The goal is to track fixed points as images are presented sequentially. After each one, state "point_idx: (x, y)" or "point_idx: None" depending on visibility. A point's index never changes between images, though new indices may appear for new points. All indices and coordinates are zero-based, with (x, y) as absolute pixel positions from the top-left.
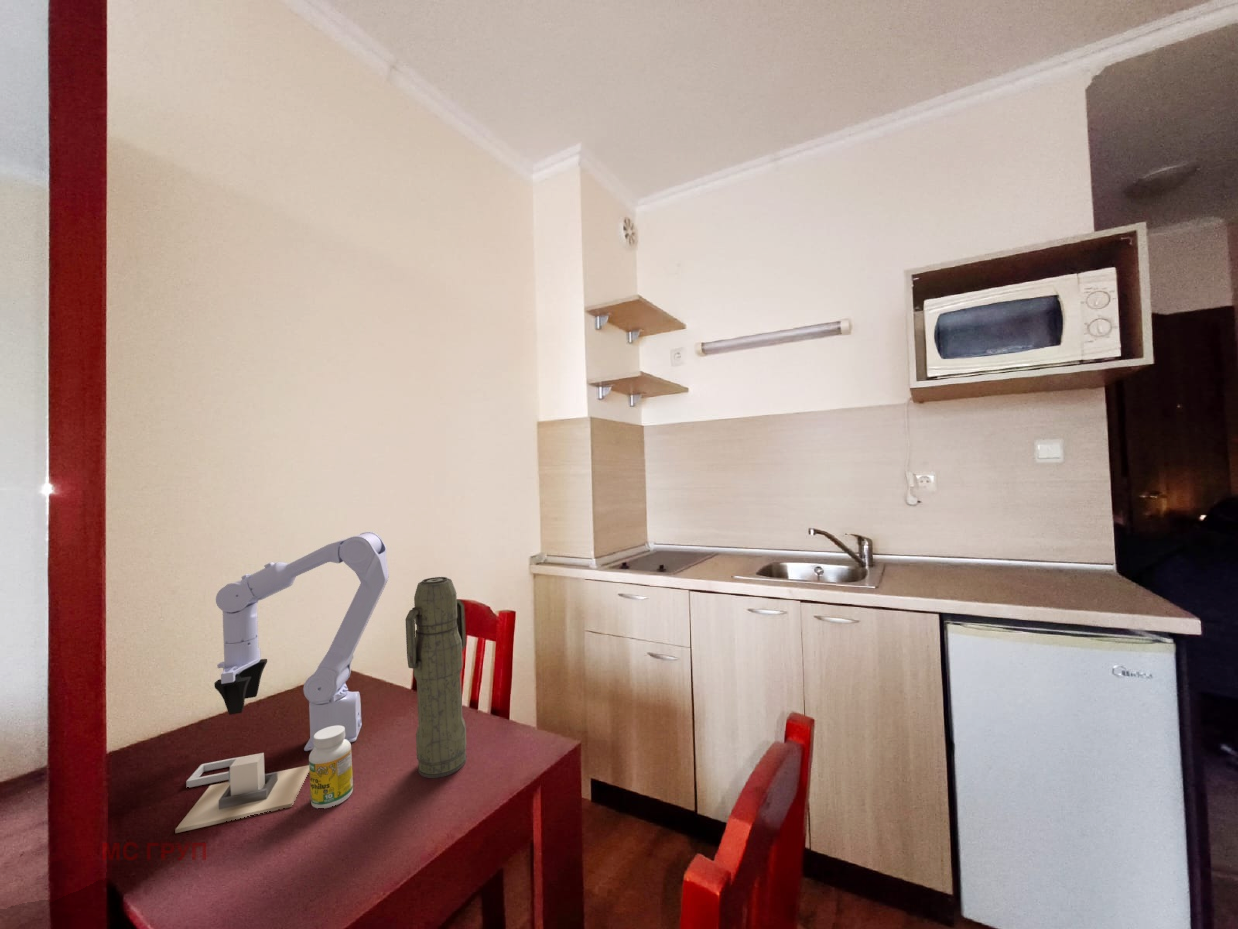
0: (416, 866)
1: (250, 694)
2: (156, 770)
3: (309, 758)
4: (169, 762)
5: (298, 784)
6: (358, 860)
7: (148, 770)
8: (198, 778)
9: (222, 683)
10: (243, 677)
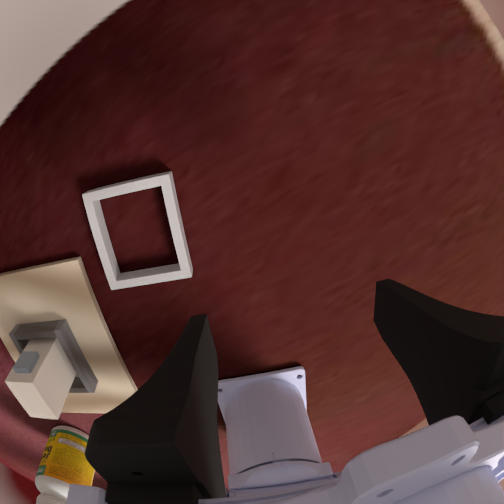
0: (21, 474)
1: (382, 312)
2: (215, 25)
3: (38, 478)
4: (257, 34)
5: (88, 410)
6: (11, 453)
7: (222, 3)
8: (91, 220)
9: (71, 488)
10: (437, 344)
